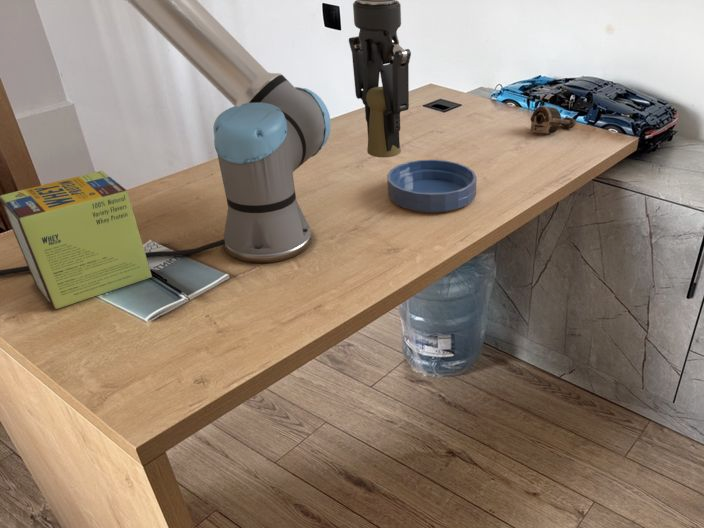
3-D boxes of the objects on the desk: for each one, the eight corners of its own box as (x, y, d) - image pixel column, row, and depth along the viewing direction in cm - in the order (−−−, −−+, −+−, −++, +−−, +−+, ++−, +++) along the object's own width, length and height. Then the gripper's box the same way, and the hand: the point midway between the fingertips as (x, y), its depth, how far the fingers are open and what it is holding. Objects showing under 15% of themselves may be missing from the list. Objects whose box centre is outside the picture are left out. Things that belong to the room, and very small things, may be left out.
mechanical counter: (522, 105, 175) (536, 108, 166) (568, 98, 177) (584, 100, 168) (525, 134, 178) (539, 138, 169) (569, 126, 180) (585, 130, 172)
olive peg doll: (381, 143, 124) (377, 81, 118) (407, 149, 122) (405, 87, 115) (360, 152, 120) (355, 89, 114) (387, 160, 118) (384, 95, 111)
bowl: (429, 224, 131) (429, 202, 128) (370, 195, 141) (369, 174, 138) (493, 197, 141) (494, 177, 139) (433, 172, 151) (433, 153, 149)
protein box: (154, 277, 112) (128, 189, 103) (55, 310, 103) (17, 218, 94) (128, 254, 118) (102, 169, 109) (33, 284, 109) (-4, 194, 100)
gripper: (430, 5, 104) (431, 153, 118) (362, -10, 113) (370, 128, 127) (392, 11, 100) (398, 164, 114) (325, -6, 109) (338, 137, 123)
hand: (383, 145), depth 120 cm, fingers closed on olive peg doll, 4 cm apart
